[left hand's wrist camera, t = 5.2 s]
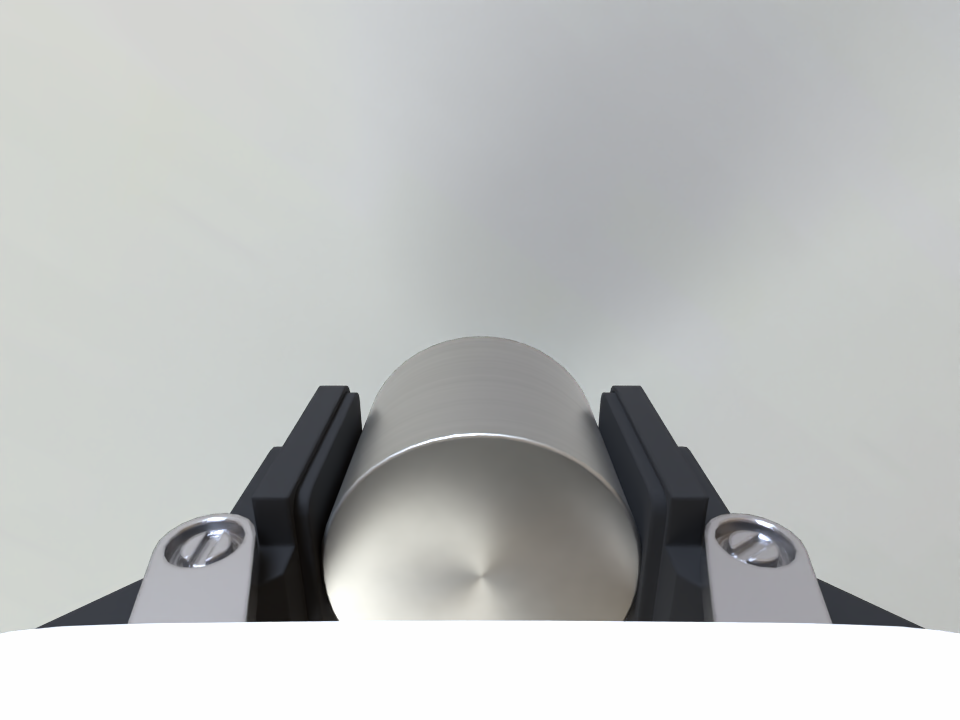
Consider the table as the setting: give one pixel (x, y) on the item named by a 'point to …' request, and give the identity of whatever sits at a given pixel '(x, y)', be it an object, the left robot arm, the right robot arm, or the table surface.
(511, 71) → the table surface
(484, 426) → the canister
